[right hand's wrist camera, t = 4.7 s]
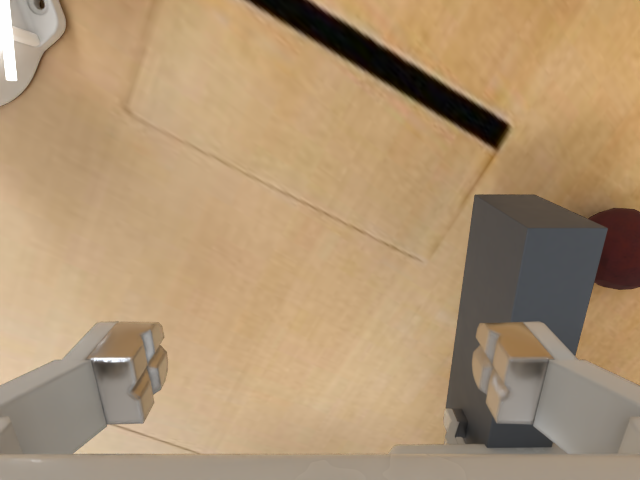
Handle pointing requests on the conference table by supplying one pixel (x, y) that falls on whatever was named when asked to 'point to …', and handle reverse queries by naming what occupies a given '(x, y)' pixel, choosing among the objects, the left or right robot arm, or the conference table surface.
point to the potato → (619, 249)
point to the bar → (520, 294)
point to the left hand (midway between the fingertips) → (487, 413)
